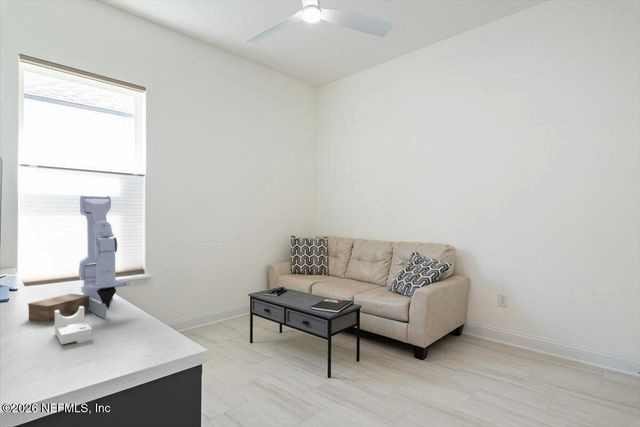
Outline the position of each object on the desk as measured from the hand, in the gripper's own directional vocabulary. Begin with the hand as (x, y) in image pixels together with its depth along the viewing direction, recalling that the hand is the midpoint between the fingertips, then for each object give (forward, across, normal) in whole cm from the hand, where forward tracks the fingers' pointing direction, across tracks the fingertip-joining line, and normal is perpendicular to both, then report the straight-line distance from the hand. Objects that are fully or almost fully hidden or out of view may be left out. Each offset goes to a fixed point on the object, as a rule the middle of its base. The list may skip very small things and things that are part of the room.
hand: (106, 309), depth 122 cm
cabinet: (+2, -10, +14) cm, 18 cm away
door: (+2, -1, +5) cm, 5 cm away
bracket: (+3, -14, -14) cm, 20 cm away
